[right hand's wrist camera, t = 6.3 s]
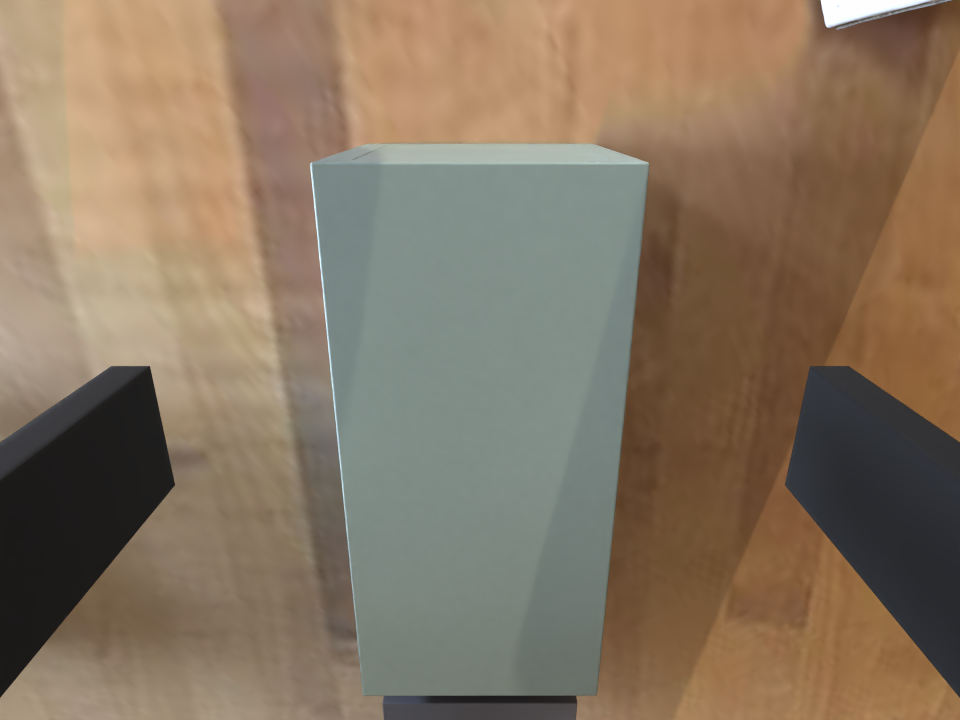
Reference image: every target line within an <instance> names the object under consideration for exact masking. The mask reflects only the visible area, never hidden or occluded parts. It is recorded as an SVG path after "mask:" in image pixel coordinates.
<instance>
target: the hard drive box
mask: <svg viewBox="0 0 960 720" xmlns="http://www.w3.org/2000/svg"><path fill="white" fill-rule="evenodd" d="M948 1H952V0H821V4H822V10H823V14H824V20H825V24H826V26H827V27H828V28H832V27H835V28H836V29H837V30H839V29H843V28H846V27H849V26H852V25H856V24H859V23H863V22H867V21H870V20H874V19H879V18H883V17H886V16H890V15H894V14H897V13H901V12H905V11H910V10H914V9H918V8H922V7H927V6H931V5H935V4H939V3H944V2H948Z"/></svg>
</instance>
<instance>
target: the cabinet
mask: <svg viewBox="0 0 960 720" xmlns="http://www.w3.org/2000/svg"><path fill="white" fill-rule="evenodd" d="M648 173H649V163H648V162H645V161H642V160H639V159H636V158H633V157H630V156H627V155H625V154H622V153H619V152H616V151H613V150H610V149H607V148H604V147H601V146H598V145H595V144H365V145H362V146H359V147H356V148H353V149H350V150H347V151H344V152H341V153H338V154H335V155H332V156H329V157H326V158H323V159H320V160H318V161H315V162H312V163H311V176H312V186H313V196H314V206H315V216H316V226H317V236H318V246H319V256H320V267H321V277H322V287H323V297H324V307H325V317H326V327H327V337H328V347H329V357H330V368H331V378H332V388H333V398H334V408H335V418H336V428H337V438H338V448H339V459H340V469H341V479H342V489H343V499H344V509H345V519H346V529H347V539H348V550H349V560H350V570H351V580H352V590H353V600H354V610H355V620H356V630H357V640H358V651H359V661H360V671H361V681H362V691H363V695H364V696H596V695H597V689H598V679H599V669H600V659H601V649H602V638H603V628H604V618H605V608H606V598H607V588H608V578H609V568H610V558H611V547H612V537H613V527H614V517H615V507H616V497H617V487H618V477H619V466H620V456H621V446H622V436H623V426H624V416H625V406H626V396H627V386H628V375H629V365H630V355H631V345H632V335H633V325H634V315H635V305H636V294H637V284H638V274H639V264H640V254H641V244H642V234H643V224H644V213H645V203H646V193H647V183H648Z"/></svg>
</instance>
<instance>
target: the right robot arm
mask: <svg viewBox="0 0 960 720" xmlns="http://www.w3.org/2000/svg"><path fill="white" fill-rule="evenodd" d="M174 486H175V483H174V478H173V473H172V469H171V464H170V459H169V454H168V450H167V445H166V440H165V436H164V431H163V426H162V421H161V417H160V412H159V407H158V402H157V398H156V393H155V388H154V383H153V379H152V374H151V369H150V366H111V367H110V368H108V369H107V370H105V371H104V372H102V373H101V374H99V375H98V376H97V377H95V378H94V379H92V380H91V381H89V382H88V383H86V384H85V385H83V386H82V387H80V388H79V389H78V390H76V391H75V392H73V393H72V394H70V395H69V396H67V397H66V398H64V399H63V400H61V401H60V402H59V403H57V404H56V405H54V406H53V407H51V408H50V409H48V410H47V411H45V412H44V413H42V414H41V415H40V416H38V417H37V418H35V419H34V420H32V421H31V422H29V423H28V424H26V425H25V426H24V427H22V428H21V429H19V430H18V431H16V432H15V433H13V434H12V435H10V436H9V437H7V438H6V439H5V440H3V441H2V442H0V697H1V696H2V695H3V694H4V692H5V691H6V690H7V689H8V688H9V686H10V685H11V684H12V683H13V681H14V680H15V679H16V678H17V677H18V675H19V674H20V673H21V672H22V670H23V669H24V668H25V667H26V666H27V664H28V663H29V662H30V661H31V660H32V658H33V657H34V656H35V655H36V653H37V652H38V651H39V650H40V649H41V647H42V646H43V645H44V644H45V642H46V641H47V640H48V639H49V638H50V636H51V635H52V634H53V633H54V632H55V630H56V629H57V628H58V627H59V625H60V624H61V623H62V622H63V621H64V619H65V618H66V617H67V616H68V615H69V613H70V612H71V611H72V610H73V608H74V607H75V606H76V605H77V604H78V602H79V601H80V600H81V599H82V597H83V596H84V595H85V594H86V593H87V591H88V590H89V589H90V588H91V587H92V585H93V584H94V583H95V582H96V580H97V579H98V578H99V577H100V576H101V574H102V573H103V572H104V571H105V569H106V568H107V567H108V566H109V565H110V563H111V562H112V561H113V560H114V559H115V557H116V556H117V555H118V554H119V552H120V551H121V550H122V549H123V548H124V546H125V545H126V544H127V543H128V542H129V540H130V539H131V538H132V537H133V535H134V534H135V533H136V532H137V531H138V529H139V528H140V527H141V526H142V524H143V523H144V522H145V521H146V520H147V518H148V517H149V516H150V515H151V514H152V512H153V511H154V510H155V509H156V507H157V506H158V505H159V504H160V503H161V501H162V500H163V499H164V498H165V496H166V495H167V494H168V493H169V492H170V490H171V489H172V488H173V487H174ZM785 486H786V487H787V488H788V489H789V490H790V492H791V493H792V494H793V495H794V496H795V498H796V499H797V500H798V501H799V503H800V504H801V505H802V506H803V507H804V509H805V510H806V511H807V512H808V514H809V515H810V516H811V517H812V518H813V520H814V521H815V522H816V523H817V524H818V526H819V527H820V528H821V529H822V531H823V532H824V533H825V534H826V535H827V537H828V538H829V539H830V540H831V542H832V543H833V544H834V545H835V546H836V548H837V549H838V550H839V551H840V552H841V554H842V555H843V556H844V557H845V559H846V560H847V561H848V562H849V563H850V565H851V566H852V567H853V568H854V569H855V571H856V572H857V573H858V574H859V576H860V577H861V578H862V579H863V580H864V582H865V583H866V584H867V585H868V587H869V588H870V589H871V590H872V591H873V593H874V594H875V595H876V596H877V597H878V599H879V600H880V601H881V602H882V604H883V605H884V606H885V607H886V608H887V610H888V611H889V612H890V613H891V615H892V616H893V617H894V618H895V619H896V621H897V622H898V623H899V624H900V625H901V627H902V628H903V629H904V630H905V632H906V633H907V634H908V635H909V636H910V638H911V639H912V640H913V641H914V642H915V644H916V645H917V646H918V647H919V649H920V650H921V651H922V652H923V653H924V655H925V656H926V657H927V658H928V660H929V661H930V662H931V663H932V664H933V666H934V667H935V668H936V669H937V670H938V672H939V673H940V674H941V675H942V677H943V678H944V679H945V680H946V681H947V683H948V684H949V685H950V686H951V688H952V689H953V690H954V691H955V692H956V694H957V695H958V696H959V697H960V442H958V441H957V440H955V439H954V438H953V437H951V436H950V435H948V434H947V433H945V432H944V431H942V430H941V429H939V428H938V427H936V426H935V425H934V424H932V423H931V422H929V421H928V420H926V419H925V418H923V417H922V416H920V415H919V414H918V413H916V412H915V411H913V410H912V409H910V408H909V407H907V406H906V405H904V404H903V403H901V402H900V401H899V400H897V399H896V398H894V397H893V396H891V395H890V394H888V393H887V392H885V391H884V390H882V389H881V388H880V387H878V386H877V385H875V384H874V383H872V382H871V381H869V380H868V379H866V378H865V377H863V376H862V375H861V374H859V373H858V372H856V371H855V370H853V369H852V368H850V367H849V366H810V369H809V374H808V379H807V383H806V388H805V393H804V398H803V402H802V407H801V412H800V417H799V421H798V426H797V431H796V436H795V440H794V445H793V450H792V454H791V459H790V464H789V469H788V473H787V478H786V483H785Z"/></svg>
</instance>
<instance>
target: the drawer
mask: <svg viewBox="0 0 960 720" xmlns="http://www.w3.org/2000/svg"><path fill="white" fill-rule="evenodd" d="M576 712H577V699H576V696H384V698H383V714H384V720H576Z"/></svg>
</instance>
